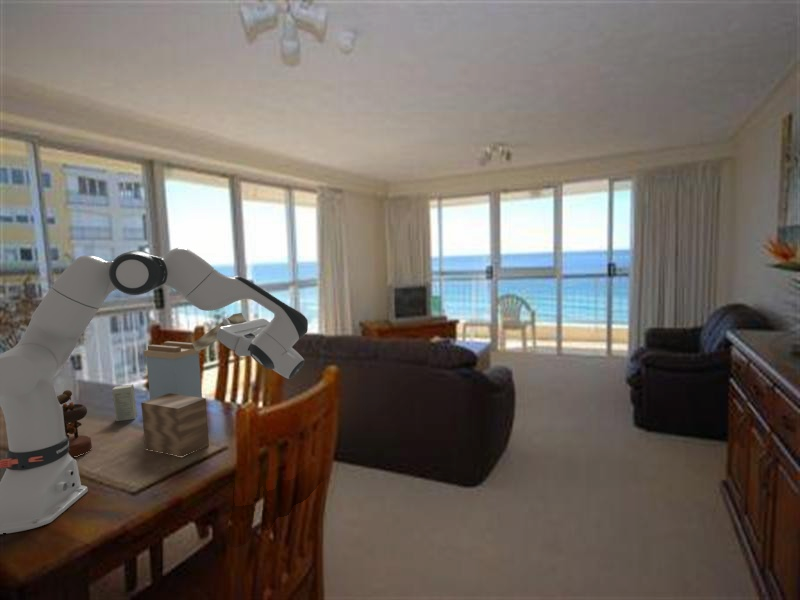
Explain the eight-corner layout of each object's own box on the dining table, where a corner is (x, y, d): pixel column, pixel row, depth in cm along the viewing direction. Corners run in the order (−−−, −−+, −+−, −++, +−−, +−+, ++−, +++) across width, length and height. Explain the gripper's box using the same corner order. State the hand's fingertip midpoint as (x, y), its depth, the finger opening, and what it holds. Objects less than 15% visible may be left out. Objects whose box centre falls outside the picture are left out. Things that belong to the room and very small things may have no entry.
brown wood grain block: (209, 445, 145) (205, 398, 143) (181, 458, 136) (177, 408, 134) (173, 437, 152) (169, 393, 150) (145, 449, 143) (141, 402, 141)
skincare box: (137, 415, 175) (134, 383, 173) (134, 419, 171) (131, 386, 169) (117, 417, 173) (114, 385, 171) (114, 421, 169) (111, 389, 167)
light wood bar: (245, 320, 149) (241, 312, 149) (237, 322, 146) (233, 314, 146) (204, 349, 158) (200, 341, 158) (195, 351, 155) (192, 343, 155)
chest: (206, 420, 167) (200, 342, 164) (179, 431, 157) (173, 348, 154) (176, 415, 173) (170, 340, 170) (150, 425, 163) (143, 346, 160)
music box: (83, 459, 137) (69, 394, 134) (41, 467, 134) (26, 401, 132) (103, 439, 152) (91, 380, 149) (65, 446, 149) (52, 387, 147)
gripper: (285, 328, 153) (256, 306, 157) (240, 339, 135) (208, 314, 139) (279, 344, 155) (250, 322, 159) (233, 357, 137) (202, 332, 141)
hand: (230, 319), depth 149 cm, fingers closed on light wood bar, 3 cm apart
